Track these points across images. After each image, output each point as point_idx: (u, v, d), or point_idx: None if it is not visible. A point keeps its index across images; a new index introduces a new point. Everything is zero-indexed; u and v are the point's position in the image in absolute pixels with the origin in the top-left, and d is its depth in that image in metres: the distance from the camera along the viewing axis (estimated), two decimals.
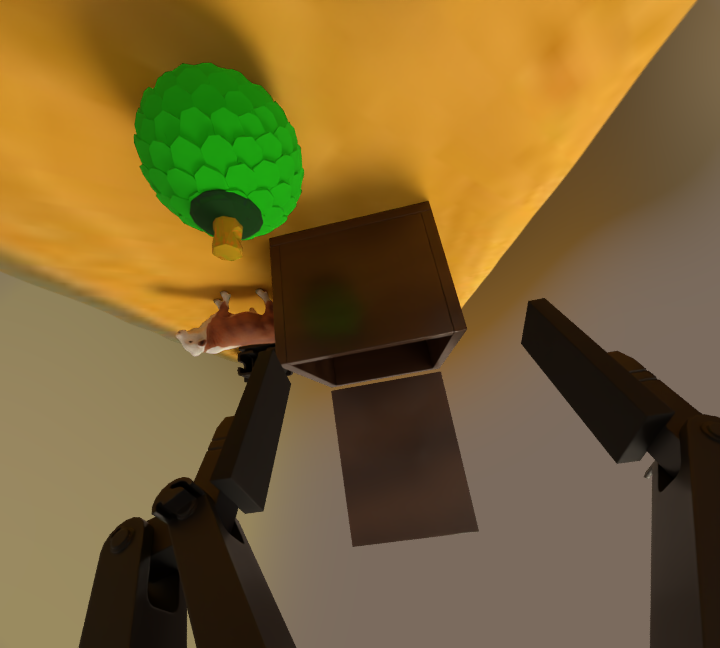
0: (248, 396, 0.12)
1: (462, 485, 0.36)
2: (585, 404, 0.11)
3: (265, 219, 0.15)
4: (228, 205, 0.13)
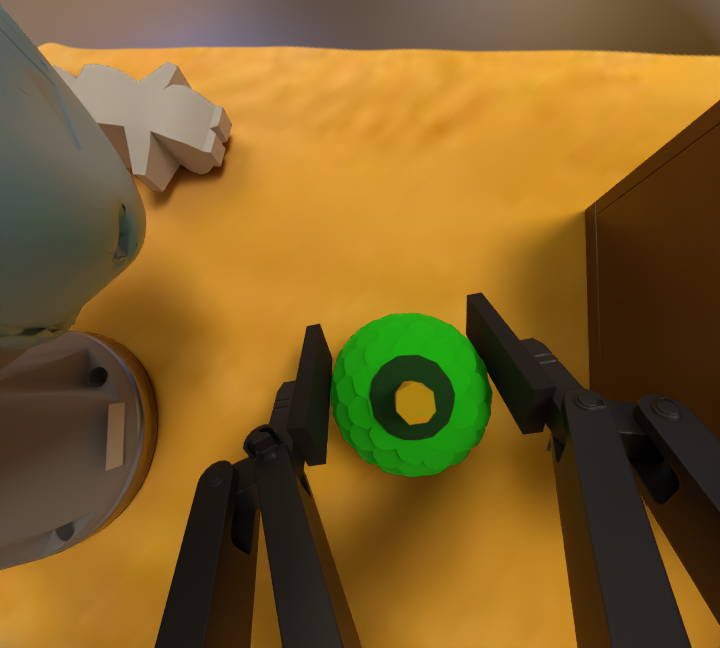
0: (305, 362, 0.13)
1: None
2: (503, 385, 0.12)
3: (434, 358, 0.11)
4: (387, 377, 0.11)
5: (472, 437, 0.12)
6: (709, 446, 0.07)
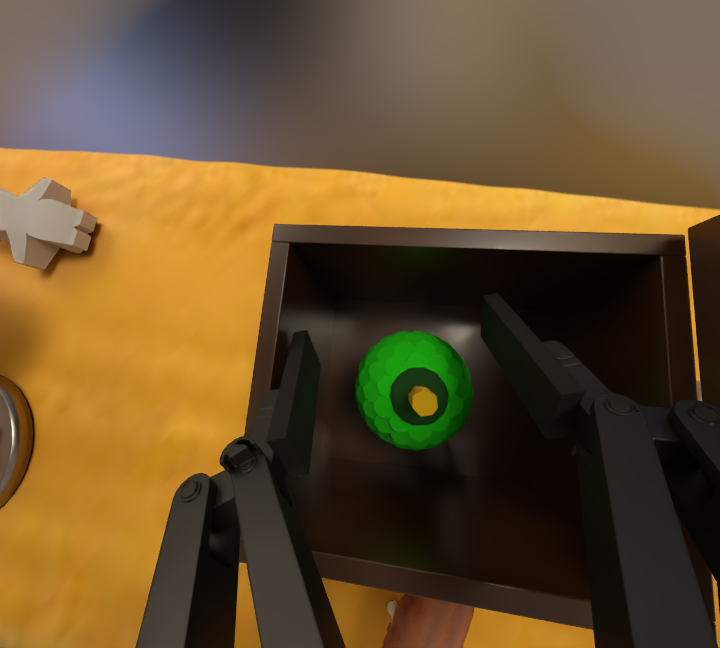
0: (290, 370, 0.13)
1: None
2: (524, 388, 0.12)
3: (435, 369, 0.16)
4: (402, 383, 0.16)
5: (459, 422, 0.17)
6: None
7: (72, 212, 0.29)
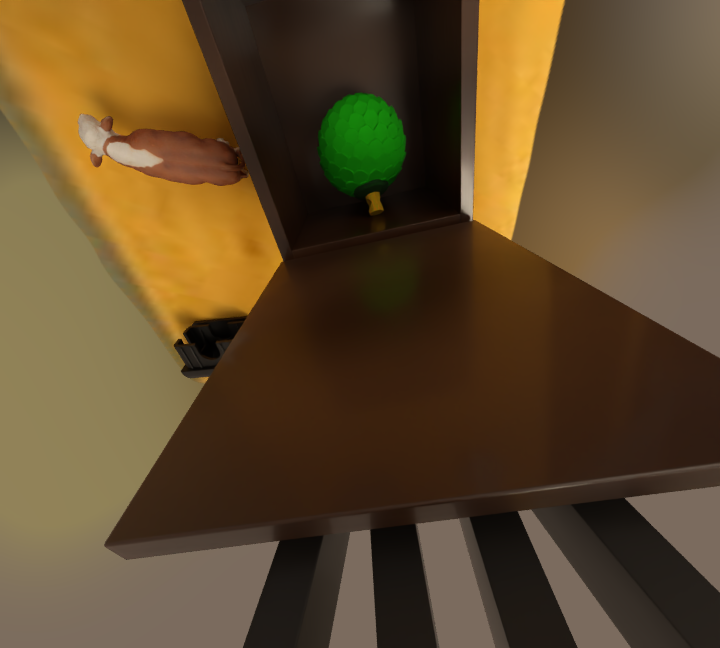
0: None
1: (612, 312, 0.10)
2: None
3: None
4: (379, 186, 0.25)
5: None
6: None
7: None
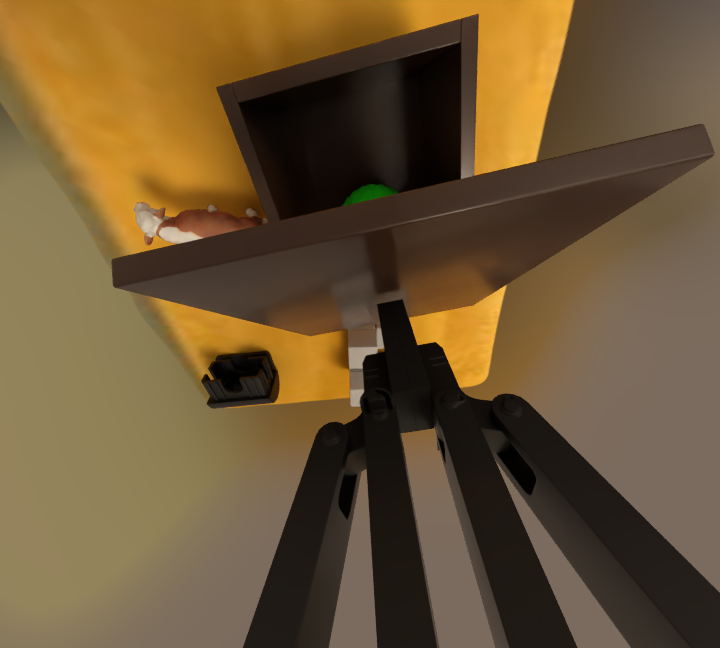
0: (388, 335, 0.13)
1: None
2: None
3: None
4: None
5: None
6: (544, 432, 0.08)
7: None
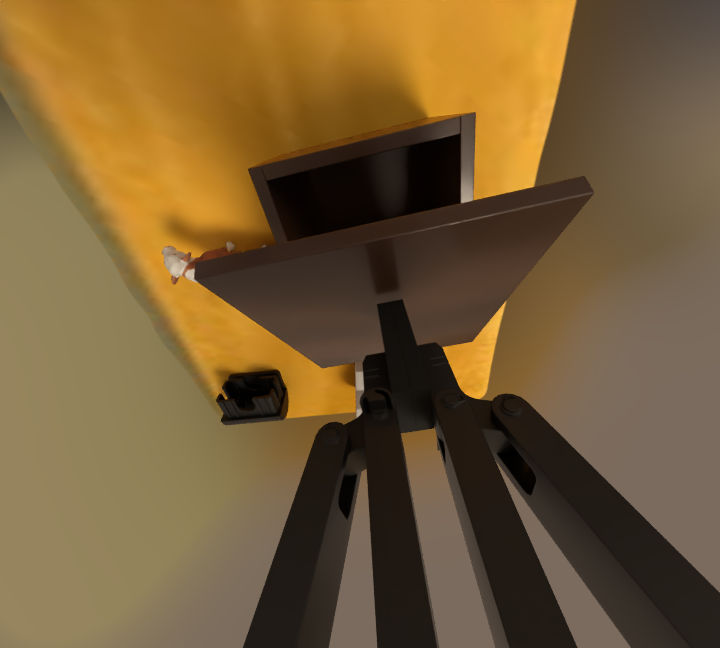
0: (388, 335, 0.13)
1: None
2: None
3: None
4: None
5: None
6: (545, 433, 0.08)
7: None
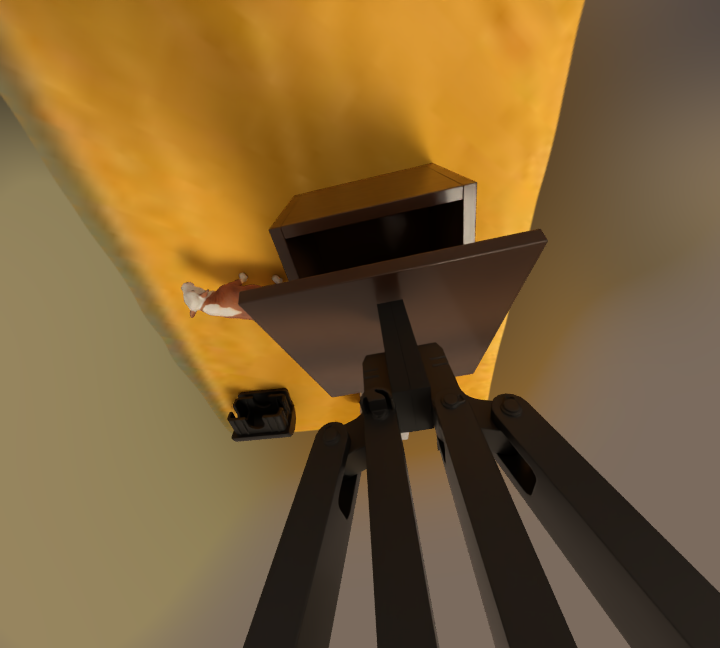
0: (388, 335, 0.13)
1: None
2: None
3: None
4: None
5: None
6: (545, 432, 0.08)
7: None
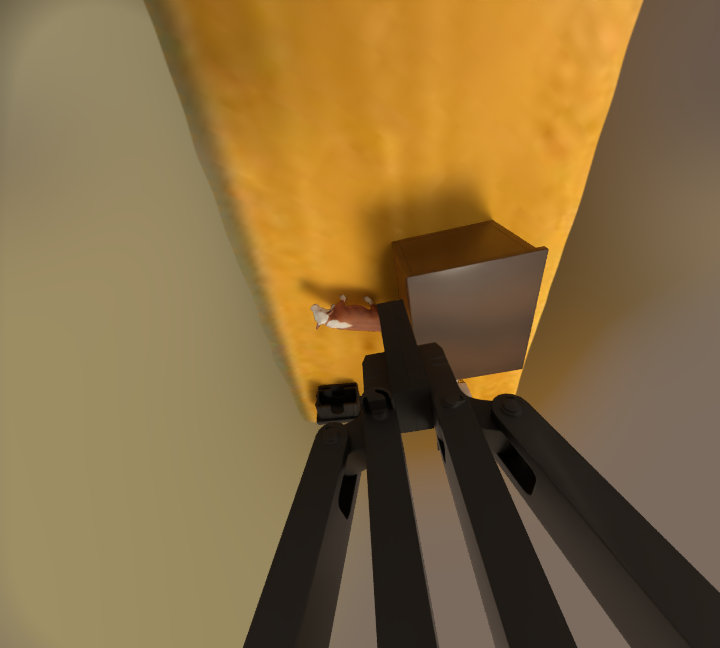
0: (388, 335, 0.13)
1: None
2: None
3: None
4: None
5: None
6: (545, 432, 0.08)
7: None
